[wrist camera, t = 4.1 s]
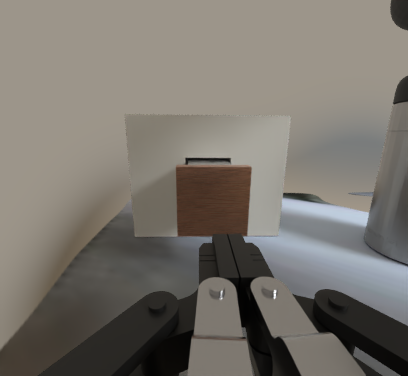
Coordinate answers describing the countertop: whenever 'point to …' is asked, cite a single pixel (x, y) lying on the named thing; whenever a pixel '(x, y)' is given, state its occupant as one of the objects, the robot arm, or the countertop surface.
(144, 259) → the countertop surface
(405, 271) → the countertop surface
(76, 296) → the countertop surface
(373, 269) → the countertop surface
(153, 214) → the key box
